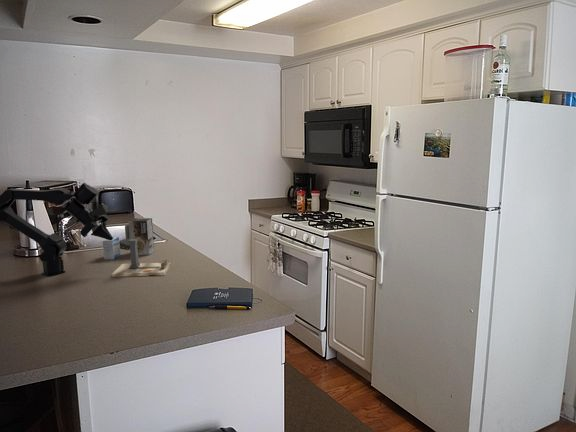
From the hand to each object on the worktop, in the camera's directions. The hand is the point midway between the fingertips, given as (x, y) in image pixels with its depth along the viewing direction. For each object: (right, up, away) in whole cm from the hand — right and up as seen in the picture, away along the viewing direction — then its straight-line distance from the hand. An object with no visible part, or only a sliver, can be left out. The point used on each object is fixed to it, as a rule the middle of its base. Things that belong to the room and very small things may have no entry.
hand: (112, 239), depth 182 cm
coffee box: (+2, -8, +31) cm, 32 cm away
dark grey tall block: (+8, -11, +2) cm, 14 cm away
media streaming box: (-6, -6, +48) cm, 49 cm away
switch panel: (+11, -13, +3) cm, 17 cm away
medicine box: (-9, -10, +24) cm, 28 cm away
